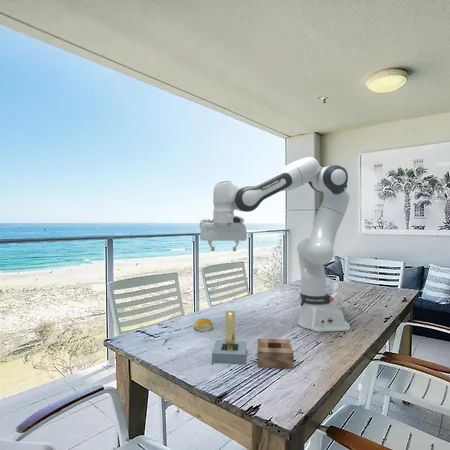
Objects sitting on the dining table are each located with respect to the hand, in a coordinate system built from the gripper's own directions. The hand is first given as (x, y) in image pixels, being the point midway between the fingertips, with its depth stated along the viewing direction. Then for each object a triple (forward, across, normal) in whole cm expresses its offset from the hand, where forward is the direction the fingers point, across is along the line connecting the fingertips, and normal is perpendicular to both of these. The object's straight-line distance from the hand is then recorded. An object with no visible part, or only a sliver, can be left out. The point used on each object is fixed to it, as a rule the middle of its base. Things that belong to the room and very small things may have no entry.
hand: (223, 251), depth 135 cm
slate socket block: (+34, +5, -28) cm, 44 cm away
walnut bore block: (+34, +20, -30) cm, 50 cm away
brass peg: (+34, +5, -28) cm, 44 cm away
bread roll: (+34, -9, +1) cm, 36 cm away
